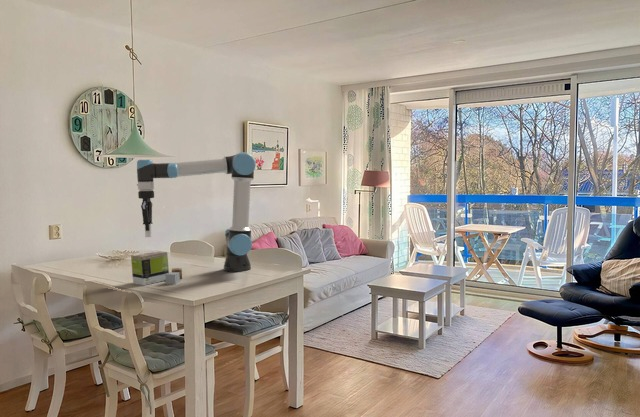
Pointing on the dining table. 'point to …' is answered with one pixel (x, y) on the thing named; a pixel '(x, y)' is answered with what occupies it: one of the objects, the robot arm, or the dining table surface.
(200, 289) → the dining table surface
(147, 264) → the tea box
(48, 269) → the dining table surface
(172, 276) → the slate-grey cube
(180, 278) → the walnut cube
